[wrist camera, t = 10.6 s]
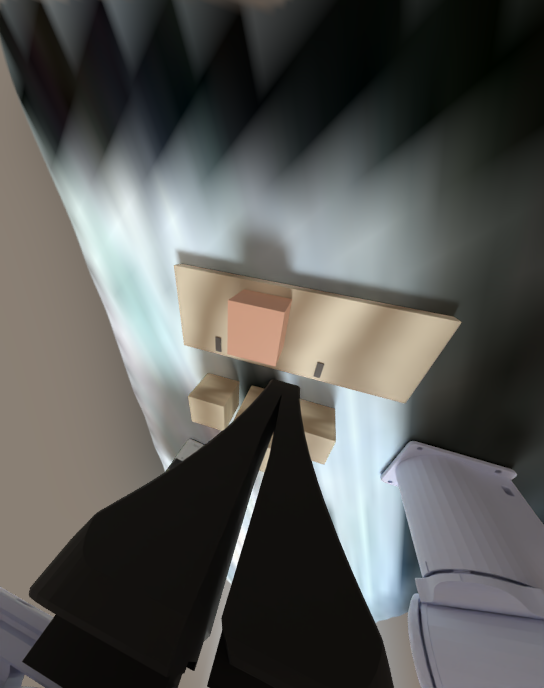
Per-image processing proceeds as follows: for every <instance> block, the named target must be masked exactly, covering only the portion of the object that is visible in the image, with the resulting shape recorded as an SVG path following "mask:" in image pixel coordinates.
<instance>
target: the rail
mask: <svg viewBox="0 0 544 688" xmlns="http://www.w3.org/2000/svg"><path fill="white" fill-rule="evenodd" d="M174 270H175V278H176V285H177V293H178V301H179V309H180V316H181V324H182V332H183V340H184V345H186V346H190V347H194V348H197V349H201V350H205V351H209V352H213V353H216V354H220V355H224V356H228V357H231V358H235V359H239V360H243V361H247V362H250V363H254V364H258V365H262V366H265V367H269V368H273V369H277V370H280V371H284V372H288V373H292V374H296V375H299V376H303V377H307V378H311V379H314V380H318V381H322V382H326V383H330V384H333V385H337V386H341V387H345V388H348V389H352V390H356V391H360V392H363V393H367V394H371V395H375V396H379V397H382V398H386V399H390V400H394V401H397V402H401V403H406V402H407V400H408V399H409V397H410V396H411V395H412V393H413V392H414V390H415V389H416V387H417V386H418V384H419V383H420V382H421V380H422V379H423V377H424V376H425V374H426V373H427V371H428V370H429V369H430V367H431V366H432V364H433V363H434V361H435V360H436V359H437V357H438V356H439V354H440V353H441V351H442V350H443V348H444V347H445V346H446V344H447V343H448V341H449V340H450V338H451V337H452V335H453V334H454V333H455V331H456V330H457V328H458V327H459V325H460V324H461V321H459V320H458V319H456V318H455V317H453V316H448V315H442V314H437V313H432V312H427V311H422V310H417V309H412V308H406V307H401V306H396V305H391V304H386V303H381V302H376V301H370V300H365V299H360V298H355V297H350V296H345V295H340V294H334V293H329V292H324V291H319V290H314V289H309V288H304V287H298V286H293V285H288V284H283V283H278V282H273V281H268V280H262V279H257V278H252V277H247V276H242V275H237V274H232V273H226V272H221V271H216V270H211V269H206V268H201V267H196V266H190V265H185V264H178V265H174ZM244 289H245V290H250V291H255V292H260V293H265V294H270V295H275V296H279V297H284V298H289V299H292V304H291V309H290V314H289V320H288V325H287V331H286V336H285V342H284V347H283V350H282V352H281V355H280V357H279V359H278V362H277V364H276V367H275V366H271V365H267V364H263V363H259V362H256V361H252V360H248V359H244V358H240V357H237V356H233V355H229V354H227V342H228V300H229V299H230V298H232V297H233V296H235V295H236V294H238V293H239V292H241V291H242V290H244Z"/></svg>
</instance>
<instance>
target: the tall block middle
mask: <svg viewBox="0 0 544 688" xmlns="http://www.w3.org/2000/svg"><path fill="white" fill-rule="evenodd" d="M263 390H264V389H263V388H260V387H256V386H253V385H252V386H251V388H250V390H249V391H248V393H247V395H246V397H245V399H244V401H243V403H242V405H241V407H240V409H239V411H238V413H237V415H236V417H235V419H236V418H237V417H238V416H239V415H241V414H242V413H243V412H244V411H245V410H246V409H247V408H248V407H249V406H250V405H251V404H252V402H253V401H254V400H255V399H256V398H257V397H258V396H259V395H260V394H261V392H262V391H263ZM235 419H234V420H235ZM273 433H274V432H273ZM272 439H273V435H272V438H271V440H270V443H269V446H268V448H267V451H266V453H265V456H264V459H263V461H262V464H261V467H260V469H259V470H260V471H263V472H265V469H266V466H267V462H268V459H269V455H270V449H271V444H272Z"/></svg>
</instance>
